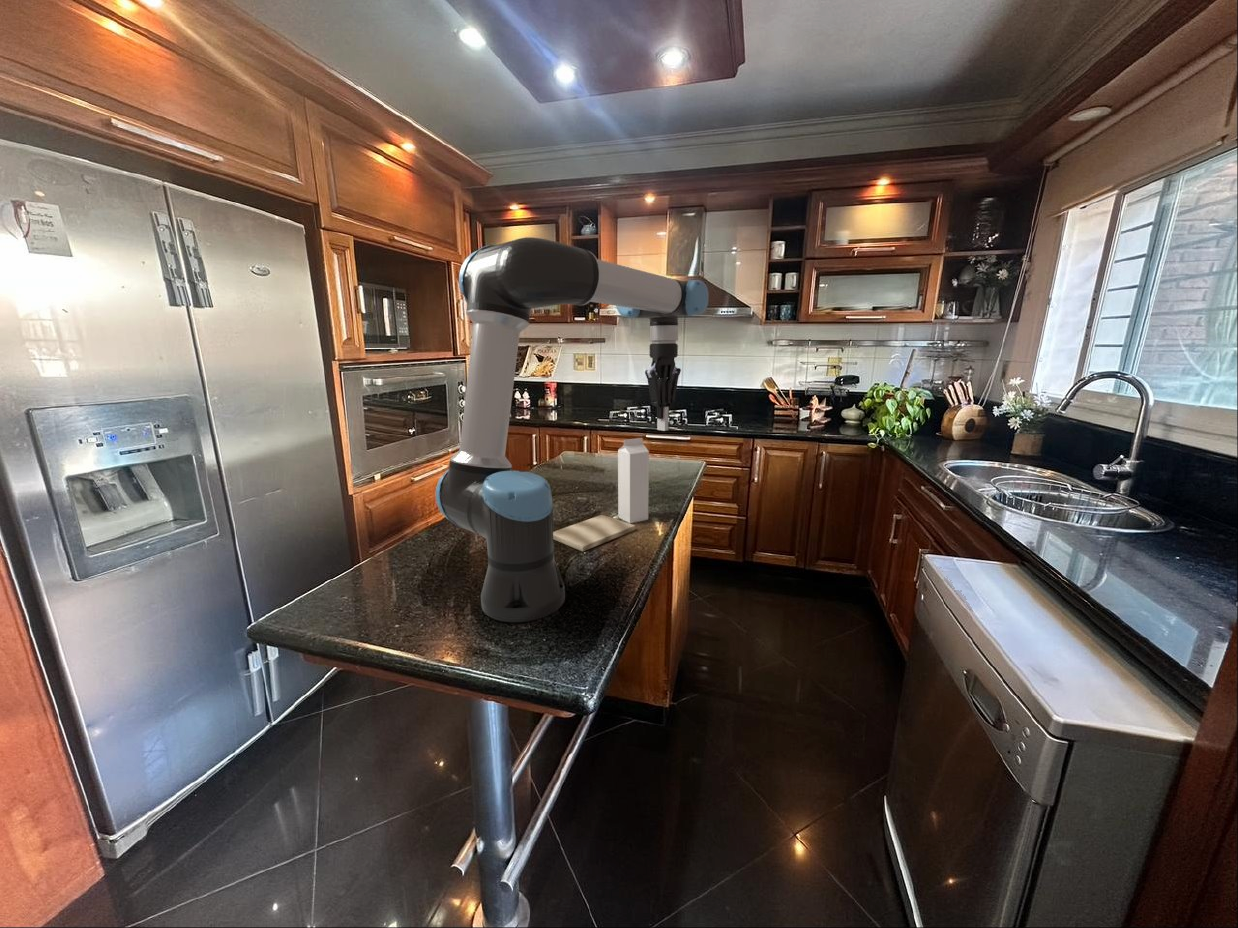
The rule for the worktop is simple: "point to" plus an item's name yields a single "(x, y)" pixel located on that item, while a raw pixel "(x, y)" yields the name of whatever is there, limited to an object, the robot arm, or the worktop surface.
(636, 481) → the white carton-shaped block
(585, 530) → the board
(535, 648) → the worktop surface
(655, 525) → the worktop surface
